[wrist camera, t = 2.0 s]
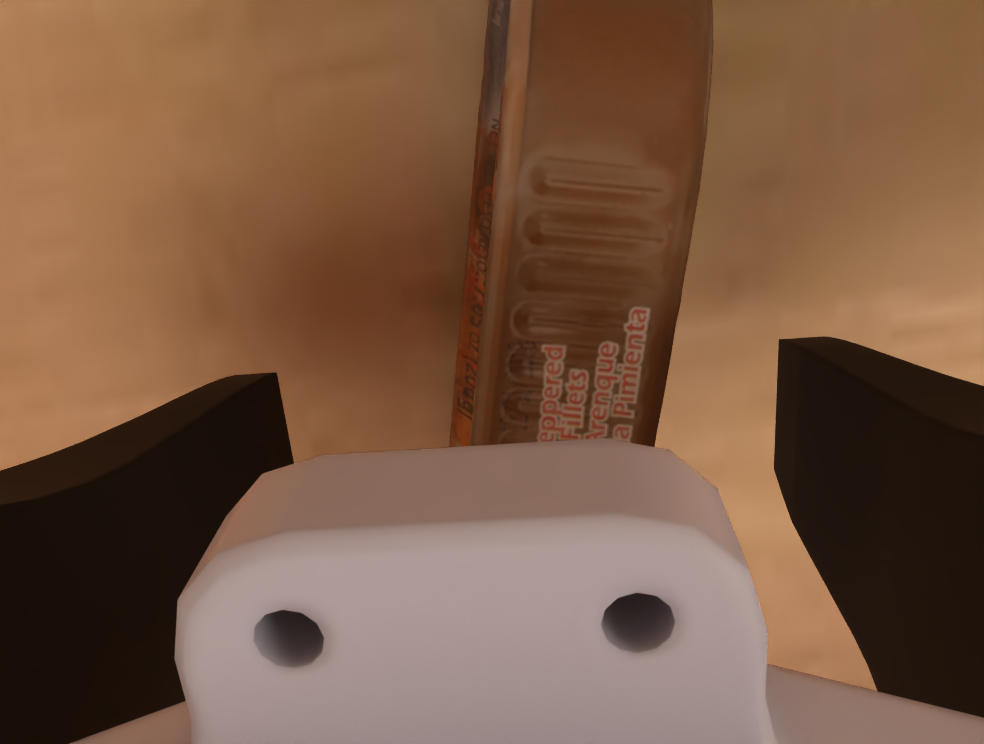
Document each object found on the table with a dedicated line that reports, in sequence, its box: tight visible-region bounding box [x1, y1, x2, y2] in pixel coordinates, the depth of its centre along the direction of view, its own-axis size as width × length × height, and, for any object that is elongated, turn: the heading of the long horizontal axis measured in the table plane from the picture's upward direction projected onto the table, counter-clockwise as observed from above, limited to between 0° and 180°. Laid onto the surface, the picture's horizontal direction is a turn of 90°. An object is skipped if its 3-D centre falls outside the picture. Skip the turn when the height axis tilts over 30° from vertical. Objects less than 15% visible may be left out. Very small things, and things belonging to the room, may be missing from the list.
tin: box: [450, 0, 713, 447], centre depth 16 cm, size 15×3×8 cm, turn 174°
